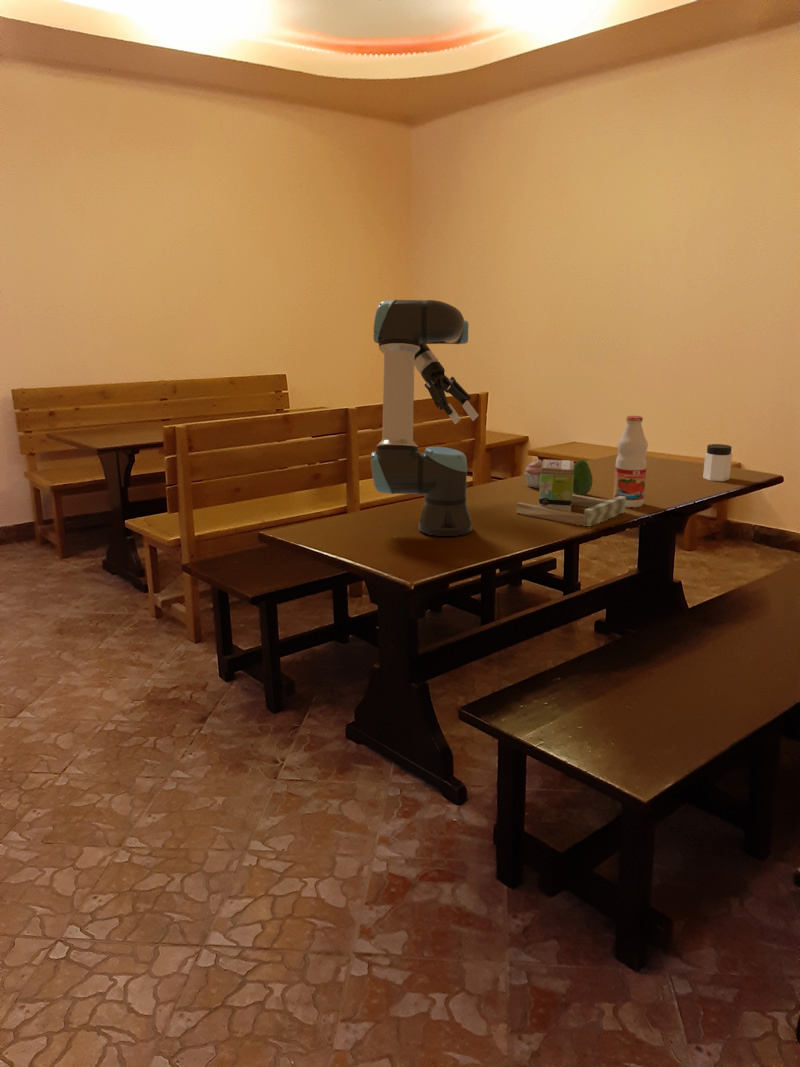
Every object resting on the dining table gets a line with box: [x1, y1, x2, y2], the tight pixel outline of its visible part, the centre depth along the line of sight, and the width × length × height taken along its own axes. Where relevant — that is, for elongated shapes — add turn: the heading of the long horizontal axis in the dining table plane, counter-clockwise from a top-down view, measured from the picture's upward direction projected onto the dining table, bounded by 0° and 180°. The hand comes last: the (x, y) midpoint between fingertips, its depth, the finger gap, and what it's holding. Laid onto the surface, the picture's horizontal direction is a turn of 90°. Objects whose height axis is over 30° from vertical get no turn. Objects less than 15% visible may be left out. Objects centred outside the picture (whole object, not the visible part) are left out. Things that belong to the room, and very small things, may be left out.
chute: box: [516, 493, 627, 527], centre depth 254 cm, size 22×25×5 cm
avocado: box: [572, 459, 593, 496], centre depth 275 cm, size 8×8×12 cm
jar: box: [702, 443, 733, 482], centre depth 298 cm, size 9×8×12 cm
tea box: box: [538, 459, 575, 512], centre depth 256 cm, size 15×10×15 cm
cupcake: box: [523, 457, 543, 489], centre depth 288 cm, size 9×9×10 cm
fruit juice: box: [612, 415, 649, 508], centre depth 261 cm, size 9×9×28 cm
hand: (466, 419), depth 274 cm, fingers open, 9 cm apart
